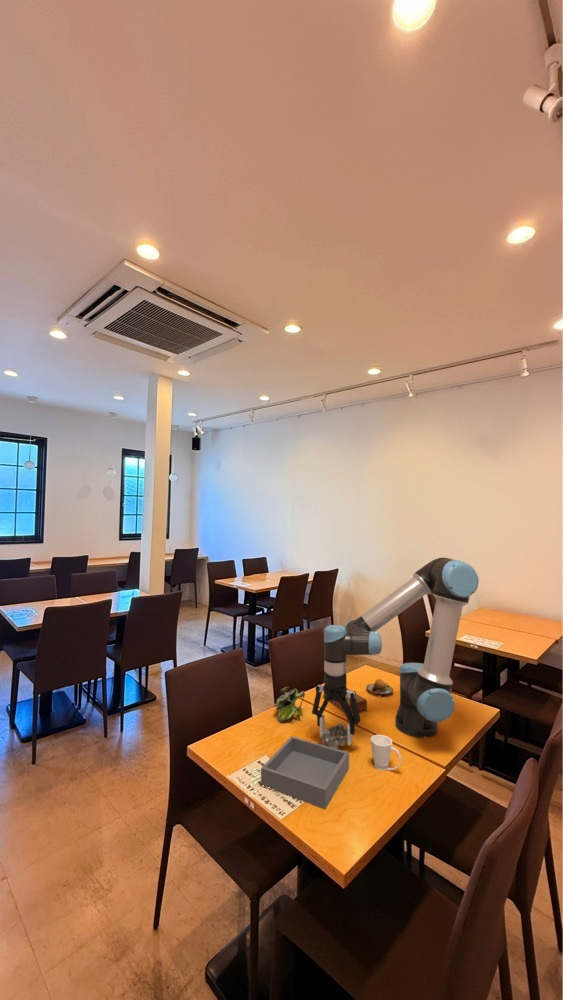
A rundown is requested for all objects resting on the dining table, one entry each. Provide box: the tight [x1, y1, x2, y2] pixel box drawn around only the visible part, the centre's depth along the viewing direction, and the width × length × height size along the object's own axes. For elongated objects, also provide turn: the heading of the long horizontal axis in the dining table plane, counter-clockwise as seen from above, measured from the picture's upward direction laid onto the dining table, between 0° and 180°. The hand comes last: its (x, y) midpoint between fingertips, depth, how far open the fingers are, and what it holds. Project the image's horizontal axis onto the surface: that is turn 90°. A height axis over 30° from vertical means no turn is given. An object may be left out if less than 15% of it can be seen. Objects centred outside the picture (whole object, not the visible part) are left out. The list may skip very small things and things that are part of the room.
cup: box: [370, 734, 402, 772], centre depth 128 cm, size 7×10×8 cm
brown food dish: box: [365, 678, 394, 698], centre depth 185 cm, size 12×12×8 cm
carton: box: [323, 688, 368, 714], centre depth 172 cm, size 10×18×5 cm, turn 28°
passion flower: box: [273, 686, 306, 722], centre depth 161 cm, size 13×12×14 cm
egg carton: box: [319, 722, 354, 750], centre depth 139 cm, size 10×7×4 cm
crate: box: [260, 735, 350, 810], centre depth 123 cm, size 20×20×5 cm
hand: (335, 739), depth 139 cm, fingers closed on egg carton, 9 cm apart
